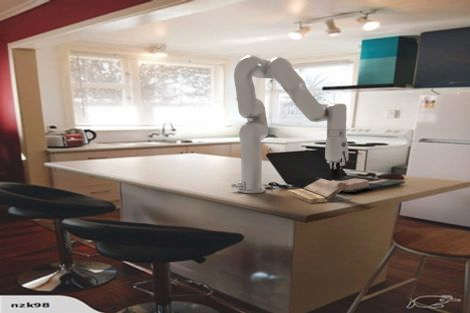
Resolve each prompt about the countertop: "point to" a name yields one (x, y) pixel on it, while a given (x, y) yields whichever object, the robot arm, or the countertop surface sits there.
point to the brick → (355, 183)
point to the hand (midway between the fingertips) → (335, 178)
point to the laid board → (306, 196)
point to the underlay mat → (337, 198)
